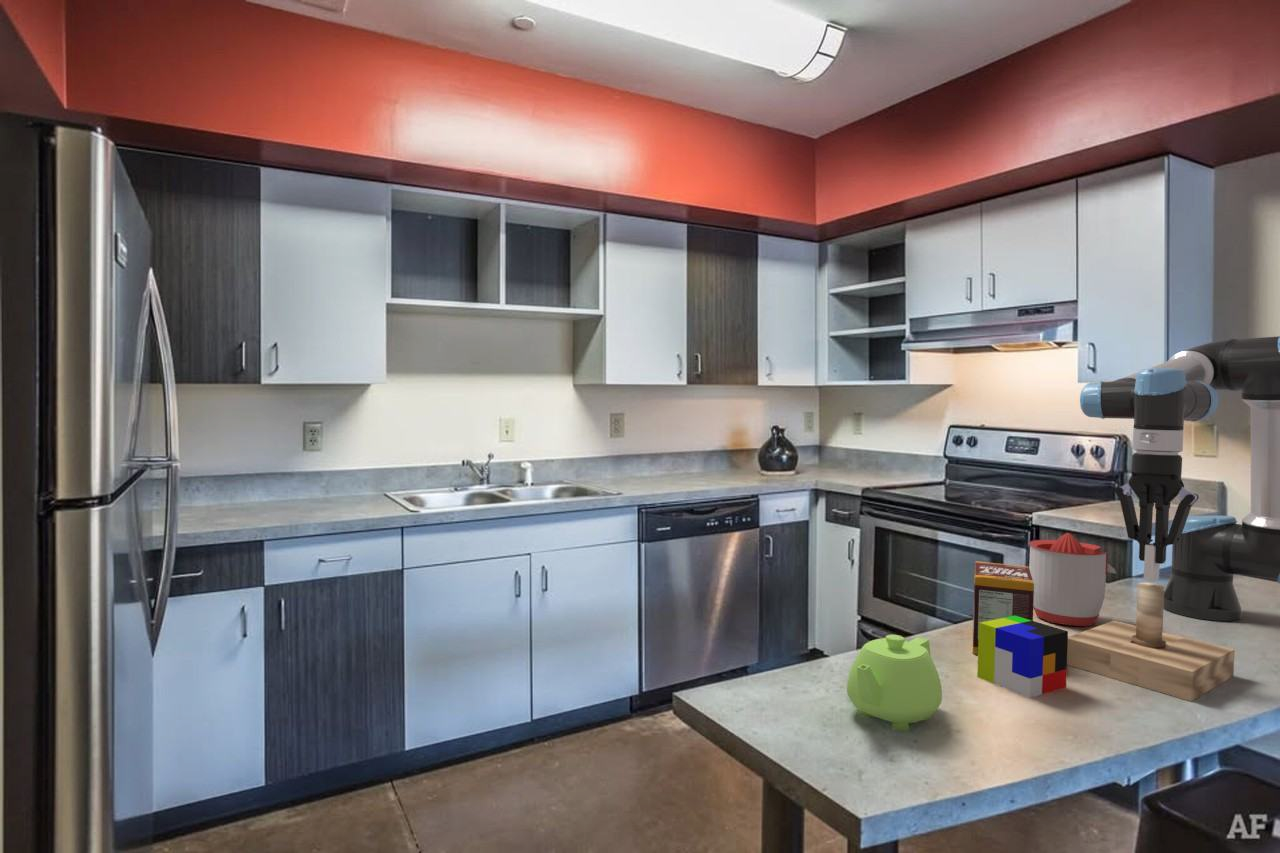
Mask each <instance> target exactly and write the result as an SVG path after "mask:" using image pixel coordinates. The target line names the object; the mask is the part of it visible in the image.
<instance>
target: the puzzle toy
mask: <svg viewBox="0 0 1280 853" xmlns="http://www.w3.org/2000/svg"><path fill="white" fill-rule="evenodd" d="M1068 637H1069V631H1068V630H1065V629H1061V628H1060V627H1055V626H1052V625H1049V624H1046V623H1045V624H1044V623H1042V622H1038V621H1035V620H1033V621H1032V620H1028V619H1025V618H1022V617H1018V616H1010V617H1005V618H1000V619H995V620H990V621H985V622H980V623H979V640H978V655H977V674H976V676H977V678H978V679H982V680H984V681H986V682H989V683H991V684H994V685H997V686H999V687H1000V688H1004V689H1006V690H1009V691H1011V692H1014V693H1017V694H1018V695H1021V696H1024V697H1027V698H1030V699H1031V698H1034V697H1038V696H1042V695H1044V694H1047V693H1048V694H1049V693H1051V692H1055V691H1058V690H1061V689H1066V688H1067V674H1068V673H1067V671H1068V665H1067V646H1068Z"/></svg>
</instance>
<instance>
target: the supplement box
mask: <svg viewBox="0 0 1280 853" xmlns="http://www.w3.org/2000/svg"><path fill="white" fill-rule="evenodd" d="M974 564H975V565H974V582H973V583H974V584H973V610H972V611H973V613H972V614H973V615H972V654H973V655H977V656H978V640H979V623H980V622H985V621H990V620H995V619H1000V618H1005V617H1010V616H1018V617H1022V618H1025V619H1028V620H1032V621H1034V608H1033V604H1034V582H1033V579H1032V576H1031V573H1030V570H1029V566H1026V565H1014V564H1007V563H1006V564H1005V563H994V562H988V561H987V562H986V561H978V560H975V563H974Z"/></svg>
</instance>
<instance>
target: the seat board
mask: <svg viewBox="0 0 1280 853" xmlns="http://www.w3.org/2000/svg"><path fill="white" fill-rule="evenodd" d="M1133 635H1136V625H1133V624H1130V623H1125V622H1120V621H1116V620H1112V621H1109V622H1106V623H1103V624H1100V625H1097V626H1095V627H1092V628H1089V629H1086V630H1084V631H1082V632H1079V633H1076V634H1072V635H1071V636H1068V646H1067V666H1071V667H1074V668H1077V669H1080V670H1084V671H1088V672H1092V673H1094V674H1097V675H1100V676H1104V677H1107V678H1110V679H1111V678H1112V679H1115V680H1118V681H1120V682H1121V681H1122V682H1125V683H1126V684H1127V683H1128V684H1130V685H1134V686H1138V687H1141V688H1145V689H1148V690H1152V691H1154V692H1158V693H1161V692H1162V693H1161V694H1164V693H1165V695H1168V696H1171V695H1172V697H1175V698H1179V699H1182V700H1185V701H1189V702H1192V701H1194V700H1196V699H1197V698H1199V697H1201V696H1203V695H1205V694H1206V693H1207V692H1209V691H1210V690H1212V689H1214V688H1216V687H1218V686H1220V685H1221V684H1223V683H1224V682H1226V681H1228V680H1230V679H1231V678H1234V674H1235V673H1234V671H1235V653H1236V652H1235V651H1236V649H1234V648H1230V647H1226V646H1223V645H1218V644H1213V643H1209V642H1205V641H1200V640H1197V639H1192V638H1189V637H1185V636H1184V637H1183V636H1180V635H1176V634H1171V633H1168V632H1163V631H1162V640H1164V641H1166V647H1165V648H1160V649H1154V648H1149V647H1144V646H1140V645H1137V644H1135V643H1133V642H1132V636H1133Z"/></svg>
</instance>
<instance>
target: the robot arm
mask: <svg viewBox="0 0 1280 853" xmlns="http://www.w3.org/2000/svg"><path fill="white" fill-rule="evenodd" d="M1217 391H1231V392H1232V391H1233V392H1234V391H1237V392H1239V391H1241V401H1243V402H1244V403H1245V404H1246V405H1248V406H1249V407H1250V513H1249V514H1247V515H1245V516H1244V517H1243V518H1242V519H1241V524H1240V523H1238V521H1237V518H1236V517H1235V516H1229V515H1213V514H1212V515H1211V514H1209V515H1189V514H1190V512H1191V509H1192V506H1193V505H1194V504H1195V503H1196V502H1197V501H1198V500H1199V498H1200V497H1199V495H1198V494H1197V493H1193V492H1191V491H1189V490H1188V489H1187V488H1185V484H1184V482H1183V480H1182V468H1183V457H1182V456H1181V455H1180V454H1179V453H1182V452H1183V449H1184V448H1183V447H1184V446H1183V445H1184V444H1183V443H1184V425H1185V424H1184V423H1185V422H1190V421H1191V422H1197V421H1201V420H1204V419H1207V418H1209V417H1211V416H1212V415H1213V414H1214V413H1215V412H1216V411H1217V409H1218V407H1219V404H1220V399H1219V398H1220V397H1219V394H1218V392H1217ZM1079 403H1080V404H1079V405H1080V409H1081V412H1082V413H1083V414H1084V416H1086V417H1088V418H1096V419H1097V418H1099V419H1102V420H1104V419H1120V420H1121V419H1126V420H1127V419H1129V420H1133V432H1132V450H1134V451H1136V452H1134V453H1133V454H1132V455H1131V475H1130V477H1129V479H1128V482H1127V483H1126V484H1124V485H1122V486H1116V487H1115V488H1114V489H1113V490H1114V492H1115V495H1116V496H1117V497H1118V500H1119V503H1120V506H1121V511H1122V516H1123V520H1124V523H1125V524H1124V525H1125V528H1126V529H1125V530H1126V534H1127V537H1128V539H1130V540H1135V541H1136V542H1137V543H1138V544H1139V545H1138V546H1139V547H1138V551H1139V552H1138V559H1139V561H1143V580H1144V581H1147V582H1156V581H1159V580H1160V565H1161V564H1165V563H1166V560H1167V547H1168V546H1171V545H1172V546H1171V549H1172V550H1171V575H1170V578H1169V580H1168V582H1167V584H1166V587H1165V588H1164V608H1163V610H1165V611H1168V612H1171V613H1174V614H1178V615H1180V616H1185V617H1189V618H1194V619H1201V620H1209V621H1218V622H1234V621H1239V620H1241V618H1242V606H1241V604H1240V602H1239V598H1238V596H1237V595H1238V594H1237V592H1236V589H1235V586H1234V575H1237V576H1242V577H1248V578H1252V579H1256V580H1257V579H1258V580H1264V581H1269V582H1274V583H1277V584H1280V335H1279V336H1267V337H1250V338H1229V339H1220V340H1216V341H1215V340H1214V341H1211V342H1207V343H1204V344H1200V345H1196V346H1194V347H1190V348H1187V349H1185V350H1182V351H1179V352H1177V353H1175V354H1173V355H1172V356H1171V357H1170V358H1169V359H1168V360H1167V361H1165V362H1162V363H1160V364H1159V363H1158V364H1157V365H1154V366H1152V367H1149V368H1146V369H1145V368H1144V369H1141V370H1139V371H1138V372H1135V373H1132V374H1129V375H1127V376H1123V377H1122V378H1117V379H1116V380H1112V381H1097V382H1094V381H1093V382H1089V383H1086V384H1085V385H1084V386H1083V388H1082V389H1081V391H1080V394H1079ZM1133 493H1134V494H1135V495H1136V497H1137V498H1138V500H1139V502H1138V507H1139V521H1138V518H1137V517H1138V516H1137V513H1136V512H1137V511H1136V509H1135V508H1136V507H1135V504H1134V499H1133V497H1132V495H1133ZM1177 496H1179V497H1178V499H1179V501H1180V502H1179V504H1178V506H1177V508H1176V512H1175V513H1174V516H1173V519H1172V522H1171V525H1170V527H1169V519H1170V518H1169V517H1170V515H1169V514H1170V508H1171V502H1172V501H1173V500H1175V498H1176V497H1177ZM1154 509H1155V524H1154V525H1155V526H1154V527H1155V528H1154V539H1152V536H1153V535H1152V534H1153V516H1154V515H1153V514H1154V513H1153V512H1154ZM1153 541H1154V542H1153Z"/></svg>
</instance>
